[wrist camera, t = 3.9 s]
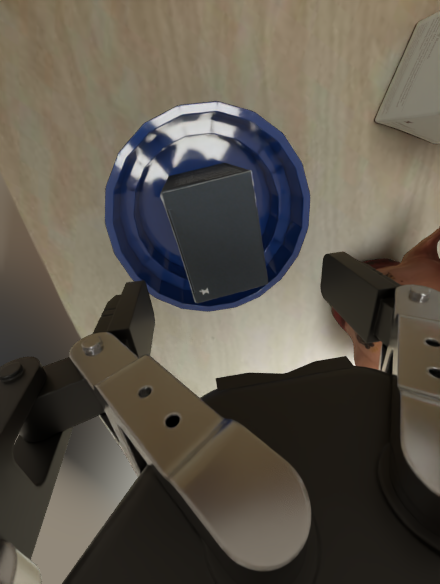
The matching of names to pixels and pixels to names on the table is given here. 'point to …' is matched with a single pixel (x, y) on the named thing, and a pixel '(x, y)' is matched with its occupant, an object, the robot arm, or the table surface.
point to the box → (216, 229)
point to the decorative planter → (411, 271)
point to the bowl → (191, 156)
